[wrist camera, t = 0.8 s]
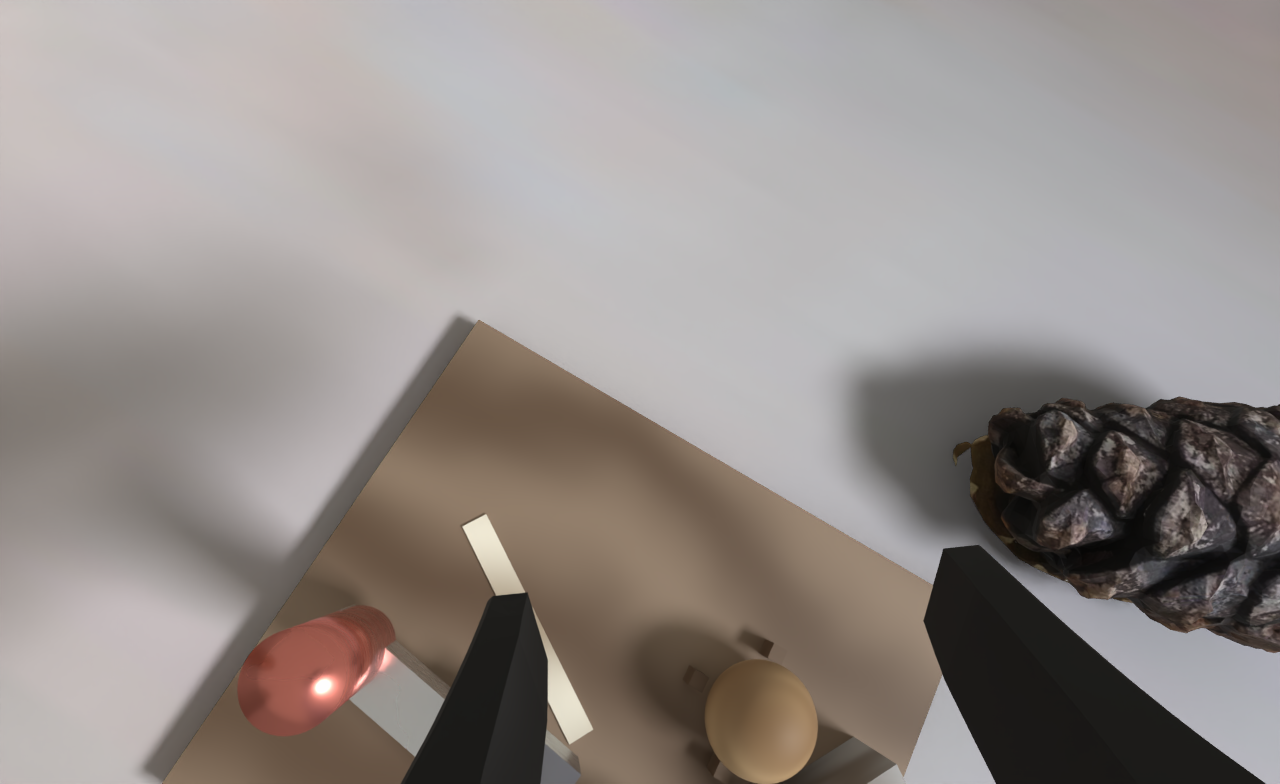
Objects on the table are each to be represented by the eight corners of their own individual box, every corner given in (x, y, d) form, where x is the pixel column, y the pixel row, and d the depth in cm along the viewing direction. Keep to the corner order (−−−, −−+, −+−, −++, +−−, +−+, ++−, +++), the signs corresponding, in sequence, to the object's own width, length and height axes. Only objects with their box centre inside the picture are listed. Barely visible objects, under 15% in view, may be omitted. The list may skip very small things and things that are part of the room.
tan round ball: (765, 781, 25) (806, 826, 21) (675, 729, 24) (700, 765, 21) (808, 681, 26) (855, 707, 22) (722, 632, 26) (754, 648, 22)
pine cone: (929, 401, 30) (1110, 338, 21) (1254, 433, 33) (1553, 389, 23) (940, 634, 28) (1150, 685, 18) (1289, 650, 30) (1640, 703, 21)
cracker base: (755, 1118, 23) (801, 1242, 19) (169, 786, 23) (87, 840, 19) (953, 603, 28) (1022, 614, 24) (481, 327, 28) (470, 291, 24)
